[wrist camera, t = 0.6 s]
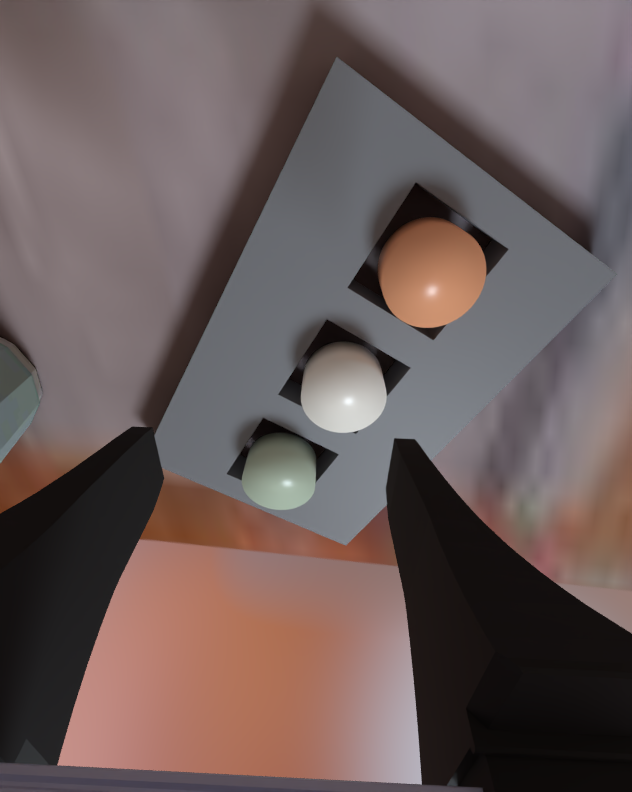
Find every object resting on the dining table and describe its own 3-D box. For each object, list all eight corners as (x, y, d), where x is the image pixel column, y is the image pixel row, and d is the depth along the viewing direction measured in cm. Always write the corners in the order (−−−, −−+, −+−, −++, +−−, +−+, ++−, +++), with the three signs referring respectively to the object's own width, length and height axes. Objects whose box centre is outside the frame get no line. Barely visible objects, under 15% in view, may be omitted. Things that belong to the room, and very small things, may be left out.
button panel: (591, 262, 19) (617, 274, 17) (344, 521, 29) (345, 545, 27) (336, 65, 15) (336, 56, 14) (155, 438, 25) (142, 459, 24)
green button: (329, 451, 23) (329, 476, 22) (295, 493, 25) (292, 519, 24) (267, 421, 22) (262, 444, 21) (236, 467, 24) (229, 492, 23)
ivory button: (398, 366, 20) (404, 386, 19) (353, 421, 22) (355, 444, 20) (329, 326, 19) (329, 345, 18) (289, 388, 21) (285, 410, 19)
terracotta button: (491, 250, 17) (508, 262, 16) (430, 326, 19) (439, 344, 17) (415, 196, 16) (425, 203, 15) (359, 281, 18) (362, 296, 16)
